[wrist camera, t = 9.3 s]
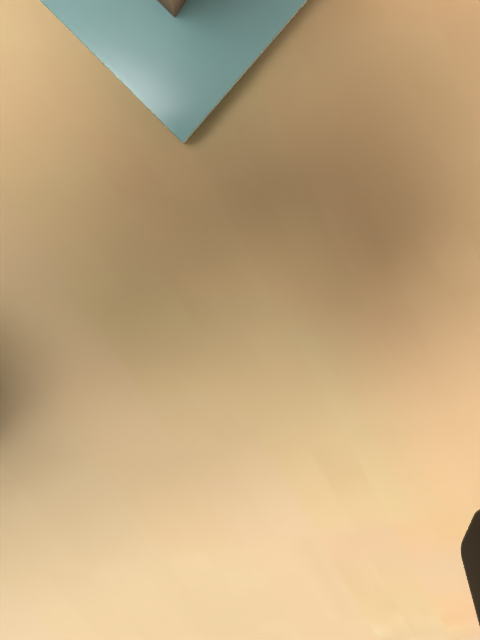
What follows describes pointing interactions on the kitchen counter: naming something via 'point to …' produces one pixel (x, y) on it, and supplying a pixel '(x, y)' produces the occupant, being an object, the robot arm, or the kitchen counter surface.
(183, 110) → the ceramic plinth
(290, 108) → the kitchen counter surface
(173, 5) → the walnut post
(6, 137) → the kitchen counter surface
